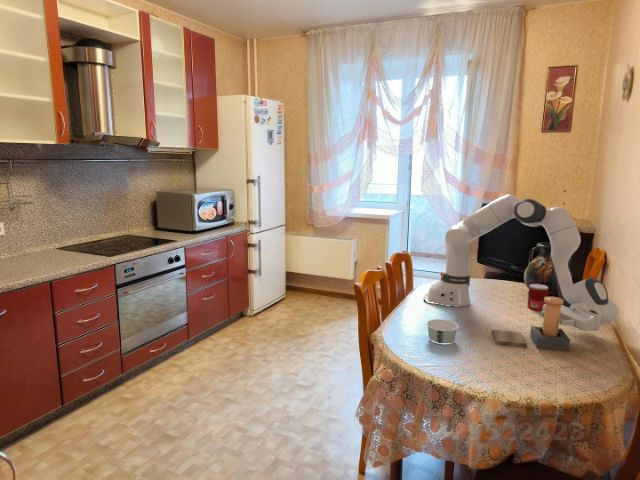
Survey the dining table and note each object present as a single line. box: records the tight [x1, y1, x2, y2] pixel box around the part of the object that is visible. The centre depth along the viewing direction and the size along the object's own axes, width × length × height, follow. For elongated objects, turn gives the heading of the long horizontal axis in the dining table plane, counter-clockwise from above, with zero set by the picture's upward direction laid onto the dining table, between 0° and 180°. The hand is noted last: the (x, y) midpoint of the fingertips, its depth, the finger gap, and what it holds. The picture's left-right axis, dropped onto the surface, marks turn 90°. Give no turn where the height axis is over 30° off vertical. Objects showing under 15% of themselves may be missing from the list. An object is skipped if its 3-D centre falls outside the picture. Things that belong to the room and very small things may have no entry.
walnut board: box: [491, 329, 528, 348], centre depth 170 cm, size 11×11×2 cm
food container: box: [426, 318, 459, 343], centre depth 169 cm, size 12×12×6 cm
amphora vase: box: [523, 241, 573, 298], centre depth 219 cm, size 22×22×28 cm
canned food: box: [527, 284, 548, 312], centre depth 206 cm, size 8×8×11 cm
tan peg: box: [542, 297, 563, 337], centre depth 165 cm, size 6×6×18 cm
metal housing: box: [529, 326, 571, 352], centre depth 166 cm, size 11×11×4 cm
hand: (551, 318), depth 165 cm, fingers open, 8 cm apart
